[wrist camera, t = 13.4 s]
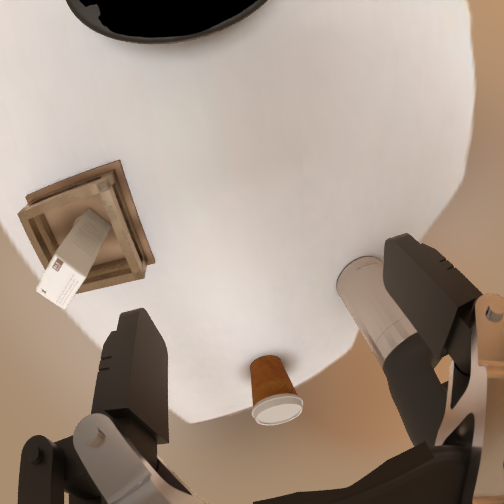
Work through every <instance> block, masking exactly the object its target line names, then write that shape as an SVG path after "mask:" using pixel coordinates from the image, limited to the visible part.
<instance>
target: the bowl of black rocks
mask: <svg viewBox="0 0 504 504" xmlns="http://www.w3.org/2000/svg"><path fill="white" fill-rule="evenodd" d="M66 1H67V4H68V5H69V7H70V9H71V11H72V12H73V13H74V15H75V16H76V17H77V18H78V19H79V20H80V21H81V22H82V23H83V24H85V25H86V26H87V27H89V28H90V29H92V30H94V31H96V32H97V33H100V34H102V35H104V36H107V37H110V38H113V39H116V40H121V41H125V42H131V43H139V44H168V43H177V42H184V41H188V40H193V39H197V38H201V37H204V36H208V35H210V34H213V33H216V32H219V31H221V30H223V29H225V28H228V27H230V26H232V25H234V24H236V23H237V22H239V21H241V20H243V19H244V18H246V17H248V16H249V15H251V14H252V13H253V12H255V11H256V10H257V9H259V8H260V7H261V6H262V5H263V4H264V3H266V2H267V1H268V0H66Z"/></svg>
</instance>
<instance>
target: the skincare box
mask: <svg viewBox="0 0 504 504" xmlns="http://www.w3.org/2000/svg"><path fill="white" fill-rule="evenodd" d="M111 227H112V226H111V224H109V223H108V222H107V221H106V220H104V219H103V218H102V217H101V216H99V215H98V214H97V213H95V212H94V211H93V210H91V209H90V208H88V209H87V210H86V211H85V212H84V214H83V215H82V216H81V218H80V219H79V220H78V222H77V223H76V224H75V226H74V227H73V228H72V230H71V231H70V232H69V234H68V235H67V236H66V238H65V239H64V241H63V242H62V244H61V245H60V246H59V248H58V249H57V251H56V252H55V254H54V256H53V258H52V259H51V261H50V263H49V265H48V267H47V268H46V270H45V271H44V273H43V275H42V278H41V279H40V281H39V283H38V285H37V287H36V291H37V292H38V293H40V294H41V295H43V296H44V297H46V298H47V299H49V300H50V301H52V302H53V303H55V304H56V305H58V306H60V307H61V308H63V309H66V308H67V306H68V305H69V303H70V301H71V300H72V298H73V297H74V295H75V294H76V292H77V291H78V289H79V288H80V286H81V285H82V283H83V282H84V280H85V279H86V277H87V275H88V273H89V271H90V268H91V267H92V265H93V263H94V261H95V259H96V257H97V255H98V253H99V251H100V248H101V247H102V244H103V242H104V240H105V239H106V237H107V235H108V233H109V231H110V229H111Z"/></svg>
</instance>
